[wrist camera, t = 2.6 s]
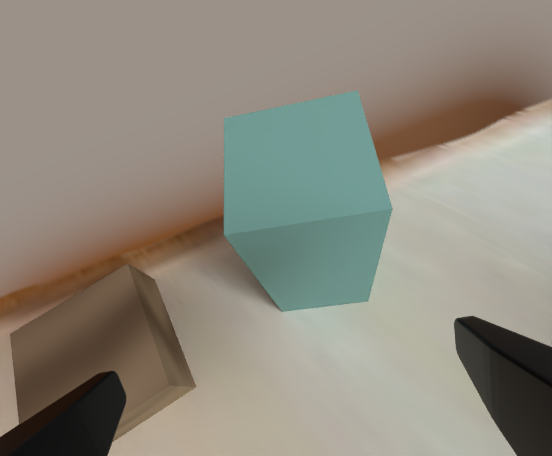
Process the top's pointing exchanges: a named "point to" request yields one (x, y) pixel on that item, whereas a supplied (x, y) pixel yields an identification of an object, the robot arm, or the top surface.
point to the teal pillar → (306, 200)
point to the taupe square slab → (103, 348)
